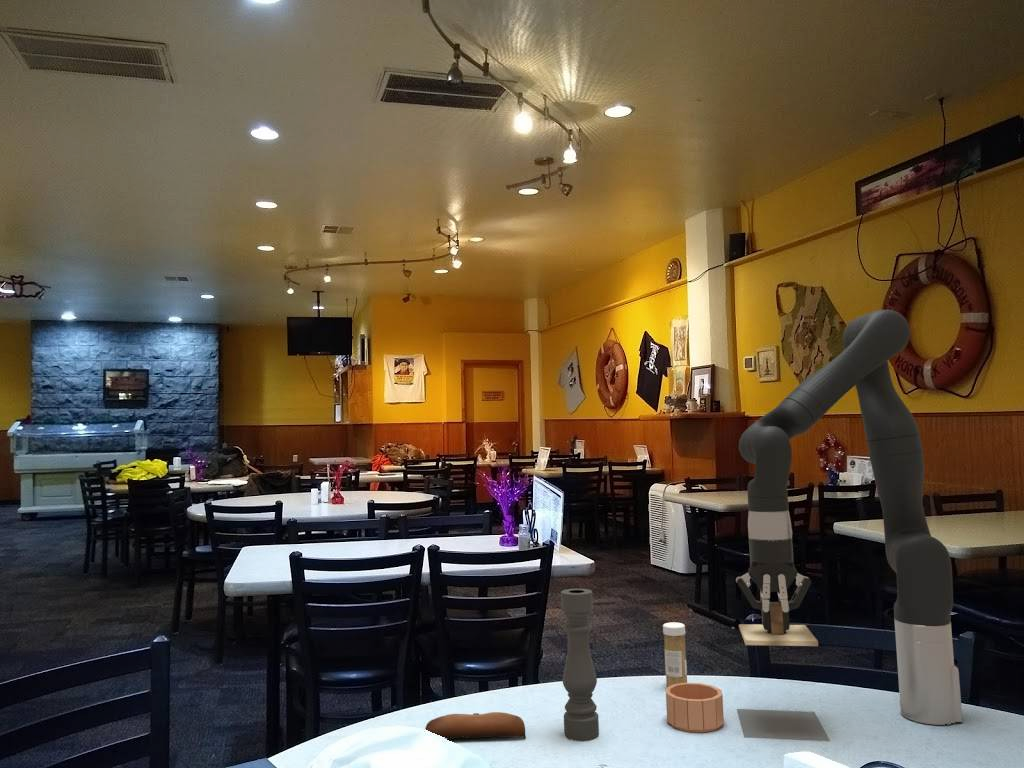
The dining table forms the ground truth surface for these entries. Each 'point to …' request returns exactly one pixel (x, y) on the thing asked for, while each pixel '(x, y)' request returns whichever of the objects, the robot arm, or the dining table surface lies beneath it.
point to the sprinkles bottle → (675, 653)
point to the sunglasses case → (477, 725)
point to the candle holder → (579, 667)
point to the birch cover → (777, 632)
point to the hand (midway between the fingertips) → (776, 631)
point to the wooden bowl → (694, 707)
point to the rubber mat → (781, 725)
